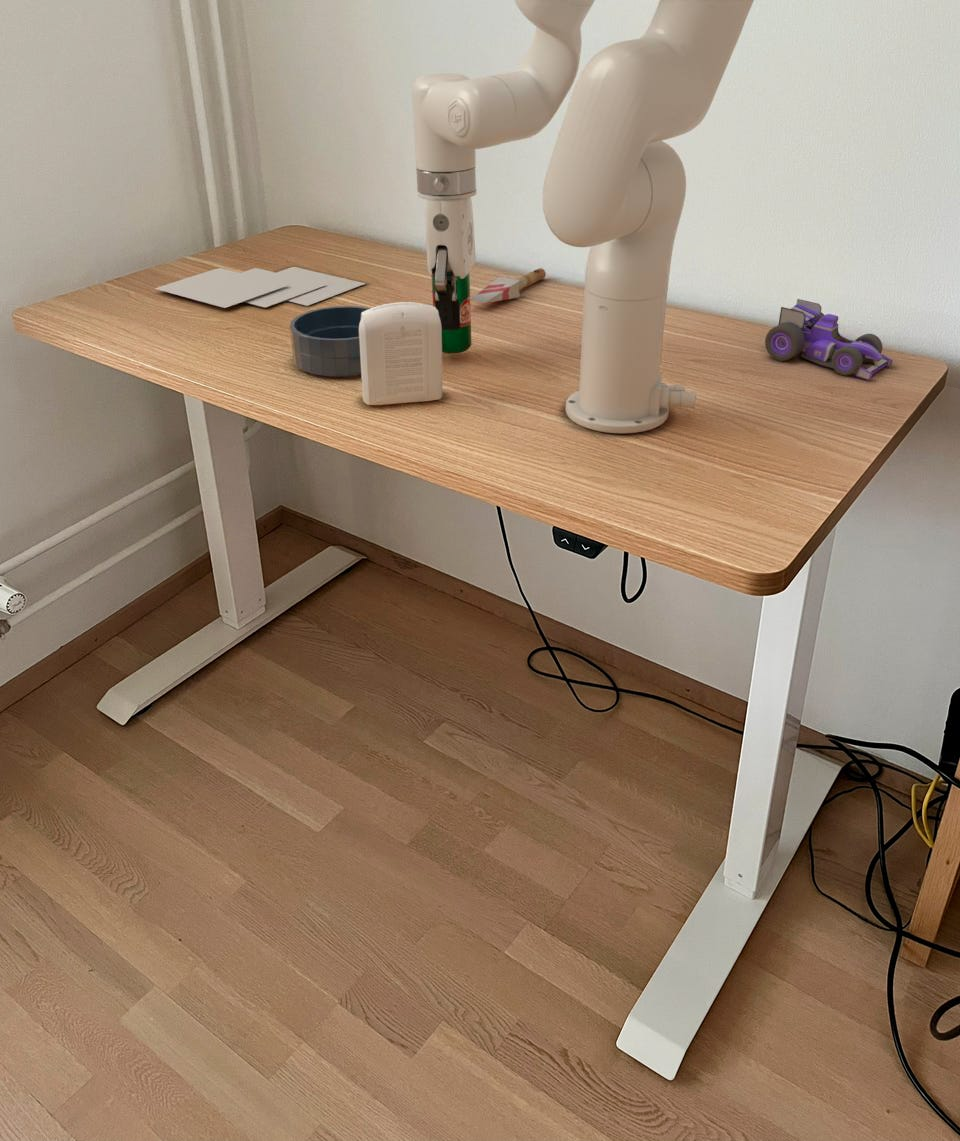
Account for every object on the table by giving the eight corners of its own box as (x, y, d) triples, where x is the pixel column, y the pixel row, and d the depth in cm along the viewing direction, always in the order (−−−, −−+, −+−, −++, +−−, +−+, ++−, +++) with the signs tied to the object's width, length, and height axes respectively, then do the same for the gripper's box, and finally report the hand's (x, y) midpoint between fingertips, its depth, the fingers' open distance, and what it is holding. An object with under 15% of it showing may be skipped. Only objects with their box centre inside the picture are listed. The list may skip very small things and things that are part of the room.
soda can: (467, 355, 138) (464, 267, 132) (431, 354, 139) (426, 265, 133) (475, 343, 143) (472, 256, 136) (439, 341, 144) (435, 255, 137)
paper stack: (259, 258, 182) (259, 254, 181) (365, 283, 169) (365, 279, 169) (154, 292, 166) (154, 288, 166) (263, 322, 154) (262, 318, 153)
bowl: (402, 346, 146) (401, 308, 143) (380, 382, 134) (377, 342, 131) (311, 341, 147) (307, 303, 144) (281, 376, 136) (276, 337, 133)
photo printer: (439, 388, 132) (437, 294, 126) (446, 401, 129) (444, 305, 122) (360, 396, 130) (354, 301, 124) (365, 409, 127) (358, 312, 120)
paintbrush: (466, 289, 157) (532, 263, 171) (466, 307, 158) (531, 279, 173) (487, 293, 155) (552, 267, 170) (487, 311, 157) (551, 283, 171)
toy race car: (864, 384, 133) (875, 336, 129) (762, 356, 142) (769, 310, 138) (895, 364, 139) (906, 317, 135) (795, 338, 147) (802, 294, 144)
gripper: (464, 197, 122) (469, 344, 131) (486, 169, 136) (488, 303, 146) (403, 196, 123) (412, 342, 132) (431, 169, 137) (437, 302, 147)
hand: (452, 320), depth 139 cm, fingers closed on soda can, 5 cm apart
